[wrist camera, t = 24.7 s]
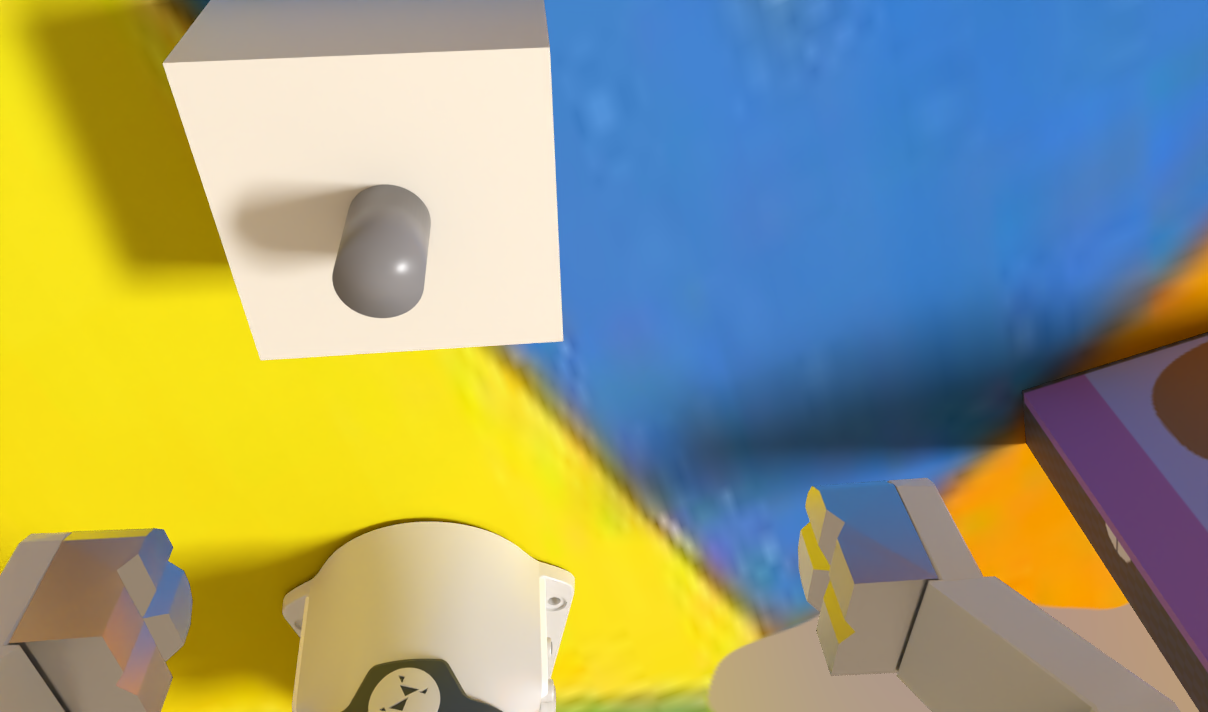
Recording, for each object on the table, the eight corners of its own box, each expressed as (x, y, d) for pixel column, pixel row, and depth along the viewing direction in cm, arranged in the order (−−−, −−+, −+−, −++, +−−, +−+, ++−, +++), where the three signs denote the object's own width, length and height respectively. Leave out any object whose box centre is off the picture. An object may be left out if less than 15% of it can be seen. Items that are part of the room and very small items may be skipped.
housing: (554, 250, 42) (569, 405, 34) (291, 265, 42) (239, 428, 33) (541, -19, 35) (556, 97, 26) (215, -7, 34) (122, 116, 25)
